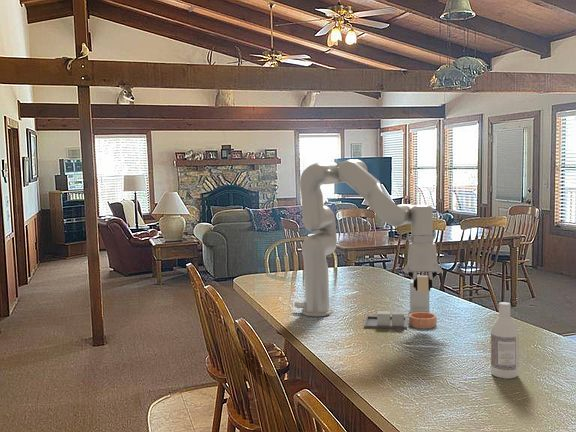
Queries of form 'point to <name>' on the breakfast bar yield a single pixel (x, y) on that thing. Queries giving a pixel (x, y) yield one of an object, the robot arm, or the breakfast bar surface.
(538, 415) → the breakfast bar surface
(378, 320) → the grey cube
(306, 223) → the robot arm
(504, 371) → the bath foam
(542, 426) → the breakfast bar surface
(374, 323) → the tray
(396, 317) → the grey cube
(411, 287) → the supplement box
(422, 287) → the beige rectangular block
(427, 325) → the bowl
